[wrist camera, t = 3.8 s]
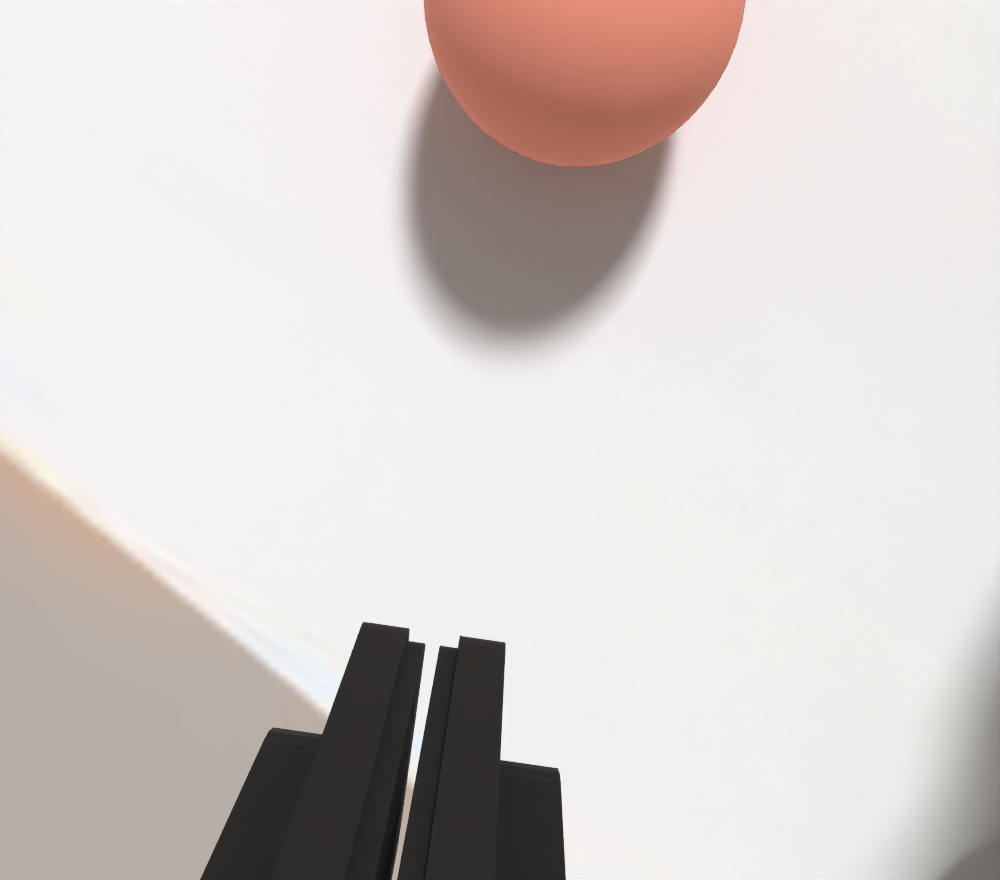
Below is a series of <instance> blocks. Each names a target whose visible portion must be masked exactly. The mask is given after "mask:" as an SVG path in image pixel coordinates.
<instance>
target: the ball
mask: <svg viewBox="0 0 1000 880" xmlns="http://www.w3.org/2000/svg"><path fill="white" fill-rule="evenodd" d="M745 1H746V0H424V10H425V21H426V26H427V31H428V37H429V42H430V45H431V48H432V51H433V54H434V57H435V61H436V63H437V65H438V68H439V70H440V72H441V74H442V76H443V79H444V81H445V83H446V85H447V87H448V88H449V90H450V91H451V93H452V95H453V96H454V98H455V100H456V101H457V103H458V104H459V105H460V107H461V108H462V109H463V110H464V112H465V113H466V114H467V115H468V117H469V118H470V119H471V120H472V121H473V122H474V123H475V124H476V125H477V126H478V127H479V128H480V129H481V130H483V131H484V132H485V133H486V134H487V135H489V136H490V137H491V138H493V139H494V140H495V141H497V142H498V143H500V144H501V145H503V146H504V147H506V148H508V149H510V150H512V151H514V152H515V153H517V154H519V155H522V156H525V157H527V158H530V159H533V160H535V161H539V162H543V163H547V164H552V165H556V166H568V167H588V166H598V165H604V164H609V163H614V162H617V161H620V160H623V159H626V158H629V157H632V156H635V155H637V154H639V153H641V152H643V151H645V150H647V149H649V148H651V147H653V146H655V145H656V144H658V143H659V142H661V141H662V140H664V139H665V138H667V137H668V136H670V135H671V134H672V133H673V132H675V131H676V130H677V129H678V128H679V127H680V126H682V125H683V124H684V123H685V122H686V121H687V120H689V118H690V117H691V116H692V115H693V114H694V113H695V112H696V111H697V110H698V109H699V108H700V106H701V105H702V104H703V103H704V102H705V100H706V99H707V98H708V96H709V95H710V93H711V92H712V91H713V89H714V88H715V86H716V85H717V83H718V81H719V79H720V78H721V76H722V74H723V72H724V70H725V69H726V67H727V65H728V62H729V60H730V57H731V55H732V53H733V50H734V48H735V45H736V42H737V39H738V35H739V32H740V28H741V24H742V20H743V14H744V7H745Z"/></svg>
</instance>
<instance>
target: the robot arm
mask: <svg viewBox="0 0 1000 880" xmlns="http://www.w3.org/2000/svg"><path fill="white" fill-rule="evenodd" d="M424 652H425V644H424V643H417V642H410V641H409V628H402V627H395V626H388V625H381V624H374V623H367V622H363V623H362V626H361V628H360V631H359V634H358V636H357V639H356V642H355V645H354V648H353V650H352V653H351V656H350V659H349V661H348V664H347V667H346V670H345V673H344V675H343V678H342V681H341V684H340V687H339V689H338V692H337V695H336V698H335V700H334V703H333V706H332V709H331V712H330V714H329V717H328V720H327V723H326V726H325V728H324V731H323V734H314V733H307V732H300V731H293V730H287V729H280V728H272V729H271V730H270V731H269V732H268V734H267V736H266V737H265V739H264V741H263V743H262V745H261V748H260V750H259V752H258V754H257V756H256V759H255V761H254V763H253V765H252V767H251V770H250V772H249V774H248V776H247V778H246V781H245V783H244V785H243V787H242V789H241V791H240V794H239V796H238V798H237V800H236V802H235V805H234V807H233V809H232V811H231V814H230V816H229V818H228V820H227V822H226V824H225V827H224V829H223V831H222V833H221V836H220V838H219V840H218V842H217V844H216V846H215V849H214V851H213V853H212V855H211V857H210V860H209V862H208V864H207V866H206V868H205V870H204V873H203V875H202V877H201V879H200V880H391V879H392V874H393V869H394V863H395V858H396V852H397V846H398V841H399V834H400V828H401V821H402V813H403V806H404V799H405V791H406V784H407V777H408V769H409V762H410V755H411V748H412V740H413V733H414V726H415V718H416V711H417V704H418V696H419V689H420V682H421V674H422V667H423V660H424ZM504 666H505V643H504V642H498V641H491V640H484V639H477V638H470V637H463V636H460V639H459V645H458V648H452V647H445V646H440V648H439V653H438V659H437V664H436V670H435V675H434V681H433V686H432V692H431V697H430V703H429V708H428V714H427V719H426V725H425V730H424V736H423V741H422V747H421V752H420V758H419V763H418V769H417V774H416V780H415V785H414V791H413V796H412V802H411V808H410V813H409V818H408V824H407V829H406V835H405V840H404V845H403V852H402V856H401V862H400V868H399V873H398V878H397V880H566V877H565V858H564V838H563V819H562V800H561V782H560V773H559V771H558V768H551V767H544V766H537V765H530V764H524V763H517V762H510V761H503V760H500V751H501V730H502V709H503V688H504Z"/></svg>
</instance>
